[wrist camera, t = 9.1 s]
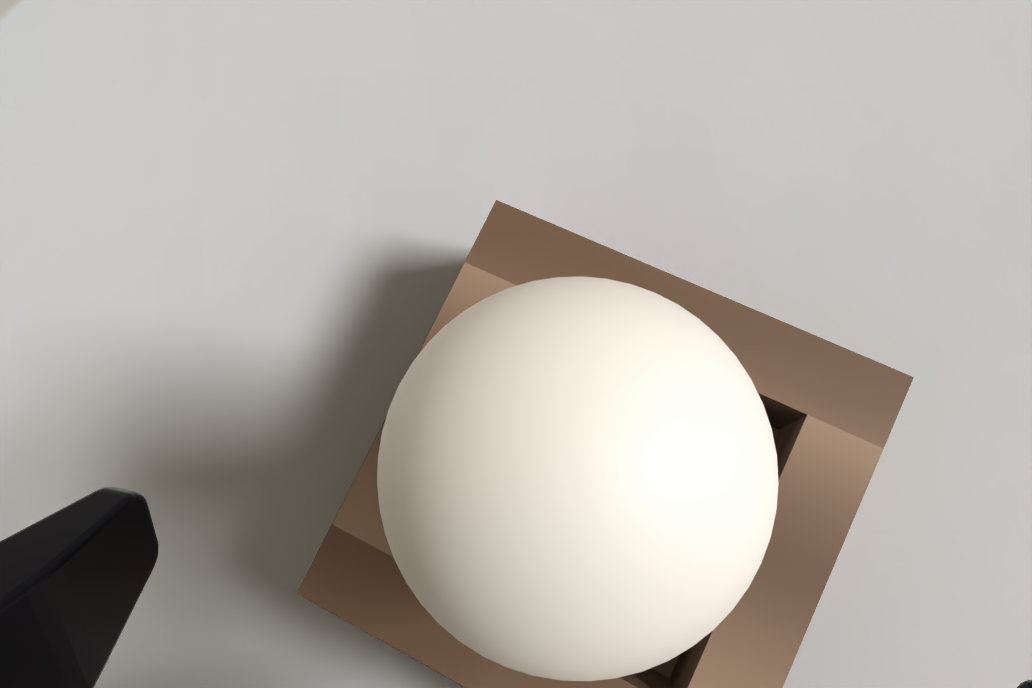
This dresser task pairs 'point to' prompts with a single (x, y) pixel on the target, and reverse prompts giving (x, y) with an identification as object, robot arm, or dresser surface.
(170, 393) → the dresser surface
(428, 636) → the open wooden box
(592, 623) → the dome-topped blue cylinder
